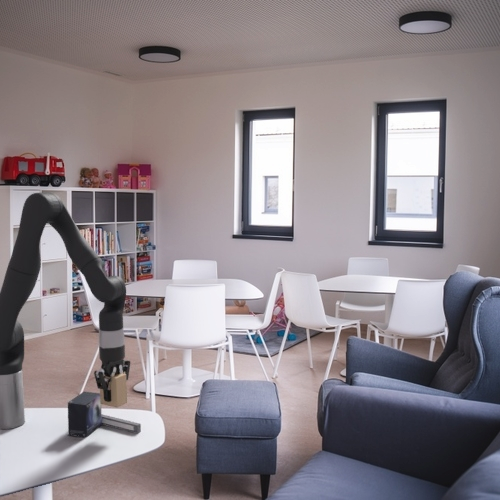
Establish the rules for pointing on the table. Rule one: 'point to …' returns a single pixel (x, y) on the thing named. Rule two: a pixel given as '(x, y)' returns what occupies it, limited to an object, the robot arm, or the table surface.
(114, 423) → the rail
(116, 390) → the kraft carton
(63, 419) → the table surface
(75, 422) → the small box
